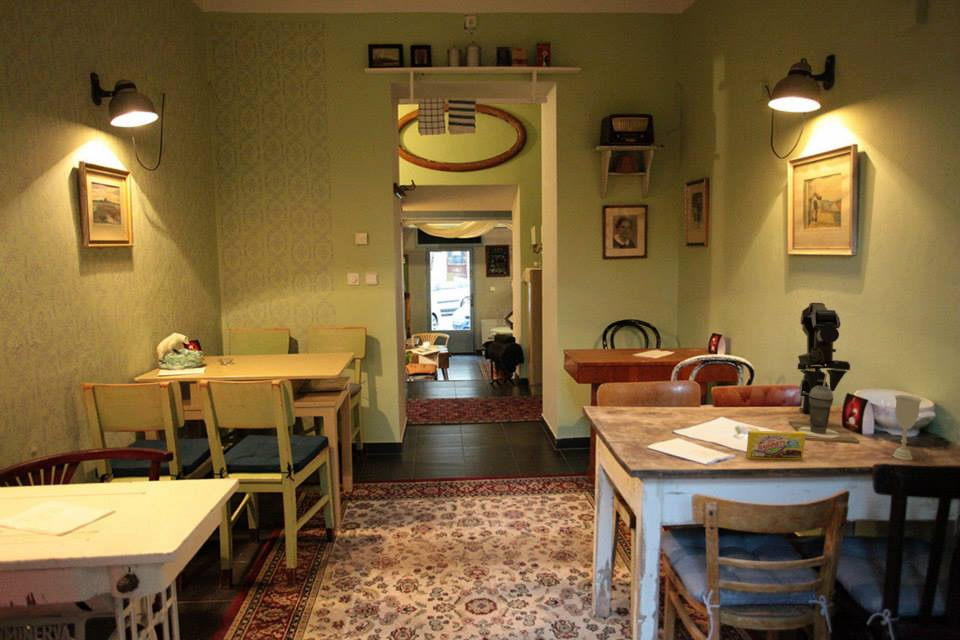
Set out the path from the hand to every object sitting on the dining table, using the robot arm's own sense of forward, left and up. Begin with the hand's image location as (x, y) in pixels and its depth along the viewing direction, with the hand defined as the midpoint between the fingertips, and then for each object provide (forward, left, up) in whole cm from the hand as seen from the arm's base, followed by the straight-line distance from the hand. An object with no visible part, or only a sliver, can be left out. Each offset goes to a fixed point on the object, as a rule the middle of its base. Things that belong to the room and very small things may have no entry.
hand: (822, 391), depth 223 cm
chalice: (+29, +15, -13) cm, 35 cm away
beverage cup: (+10, -4, -12) cm, 16 cm away
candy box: (+39, -23, -13) cm, 47 cm away
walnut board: (+8, -1, -12) cm, 15 cm away
